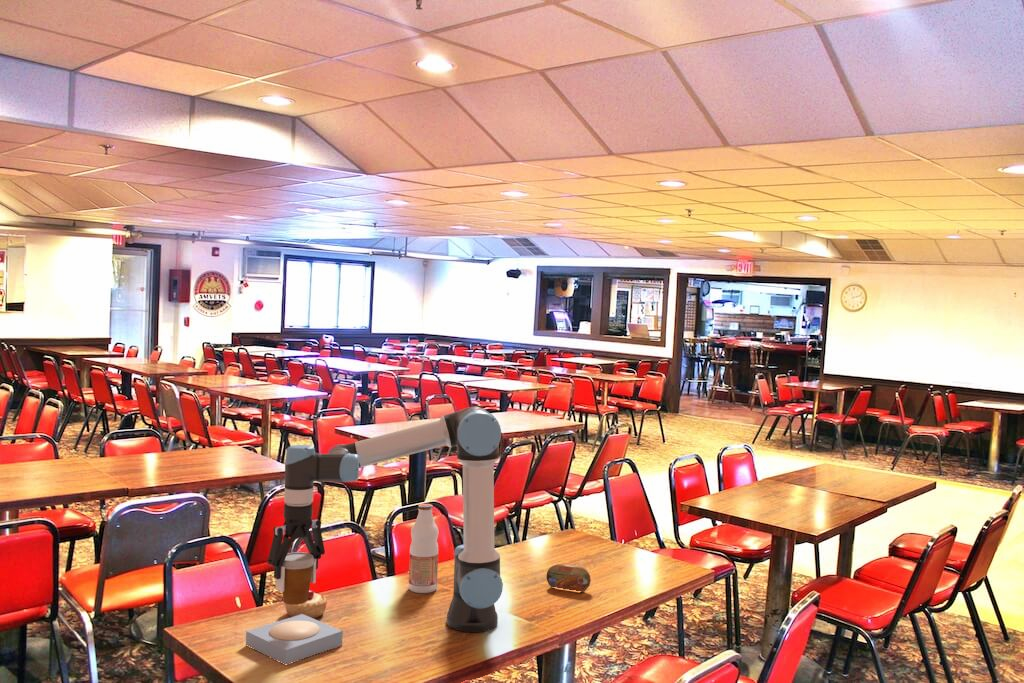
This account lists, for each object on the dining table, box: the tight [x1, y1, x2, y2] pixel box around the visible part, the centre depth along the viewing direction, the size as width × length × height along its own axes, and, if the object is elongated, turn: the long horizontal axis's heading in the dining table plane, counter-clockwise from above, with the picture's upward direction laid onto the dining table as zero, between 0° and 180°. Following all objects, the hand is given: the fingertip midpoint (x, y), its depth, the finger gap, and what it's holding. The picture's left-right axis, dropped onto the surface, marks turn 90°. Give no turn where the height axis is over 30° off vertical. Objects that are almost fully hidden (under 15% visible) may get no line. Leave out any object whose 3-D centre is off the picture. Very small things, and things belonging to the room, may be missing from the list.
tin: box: [546, 563, 592, 593], centre depth 270 cm, size 15×3×8 cm, turn 68°
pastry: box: [284, 589, 328, 619], centre depth 240 cm, size 12×12×9 cm
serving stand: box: [245, 614, 344, 665], centre depth 216 cm, size 18×18×4 cm
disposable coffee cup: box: [282, 551, 315, 605], centre depth 216 cm, size 10×10×12 cm
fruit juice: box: [408, 503, 439, 594], centre depth 266 cm, size 9×9×28 cm
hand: (295, 586), depth 216 cm, fingers closed on disposable coffee cup, 9 cm apart
